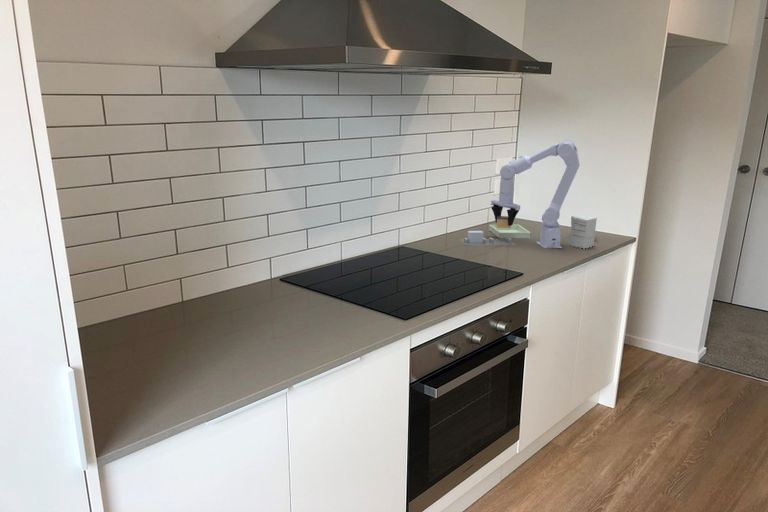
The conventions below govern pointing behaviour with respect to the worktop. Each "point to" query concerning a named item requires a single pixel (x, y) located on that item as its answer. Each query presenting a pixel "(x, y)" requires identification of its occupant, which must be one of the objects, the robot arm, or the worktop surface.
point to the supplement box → (583, 231)
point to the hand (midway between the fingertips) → (503, 223)
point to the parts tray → (510, 231)
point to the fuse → (475, 236)
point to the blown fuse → (502, 222)
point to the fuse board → (490, 241)
